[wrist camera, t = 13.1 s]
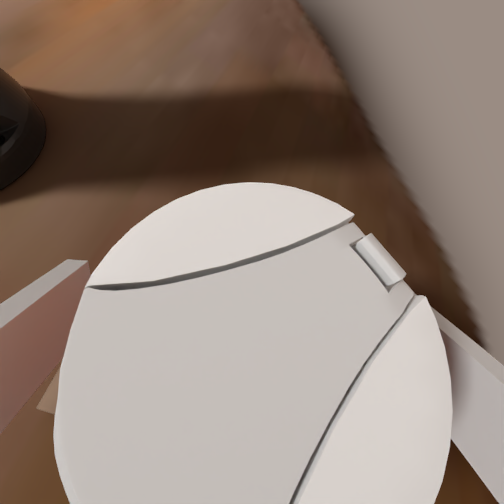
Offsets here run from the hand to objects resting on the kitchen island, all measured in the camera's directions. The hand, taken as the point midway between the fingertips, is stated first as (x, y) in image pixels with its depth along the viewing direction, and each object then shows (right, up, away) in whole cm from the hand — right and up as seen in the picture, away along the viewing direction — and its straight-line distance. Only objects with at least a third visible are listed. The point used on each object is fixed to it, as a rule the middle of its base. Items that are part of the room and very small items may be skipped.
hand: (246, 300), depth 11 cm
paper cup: (-1, -5, +7) cm, 8 cm away
